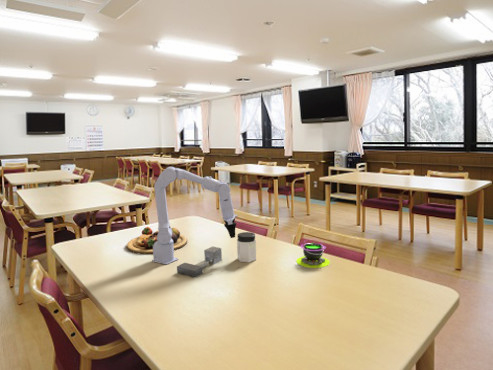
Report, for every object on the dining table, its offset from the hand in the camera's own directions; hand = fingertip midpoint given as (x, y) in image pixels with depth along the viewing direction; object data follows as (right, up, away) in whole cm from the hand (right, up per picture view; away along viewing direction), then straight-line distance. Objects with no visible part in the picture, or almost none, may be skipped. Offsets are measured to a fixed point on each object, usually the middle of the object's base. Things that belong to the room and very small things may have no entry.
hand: (232, 235), depth 165 cm
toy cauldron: (+37, -11, -8) cm, 39 cm away
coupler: (-15, -13, -15) cm, 25 cm away
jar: (+7, -11, -3) cm, 13 cm away
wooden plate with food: (-42, -9, +23) cm, 48 cm away
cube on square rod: (-9, -12, -5) cm, 15 cm away
